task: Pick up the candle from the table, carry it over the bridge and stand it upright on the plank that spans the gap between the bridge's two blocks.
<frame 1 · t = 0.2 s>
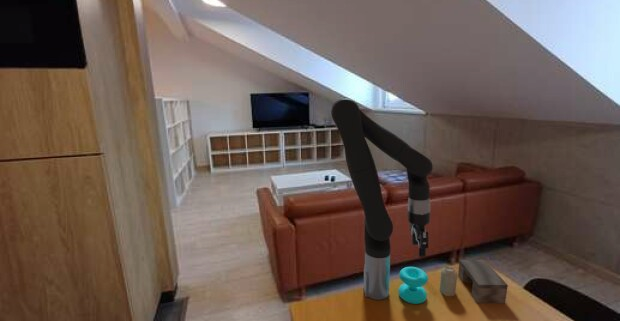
hand: (418, 250, 111), 18 cm above the table, tool pointing down, fingers open, 8 cm apart
candle: (447, 292, 116), on the table
turquoise spool: (412, 296, 114), on the table
bridge: (479, 288, 117), on the table
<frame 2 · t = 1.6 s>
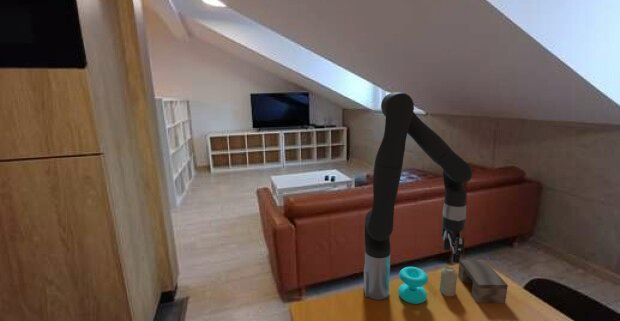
hand: (451, 255, 112), 15 cm above the table, tool pointing down, fingers open, 8 cm apart
nothing on the table moved.
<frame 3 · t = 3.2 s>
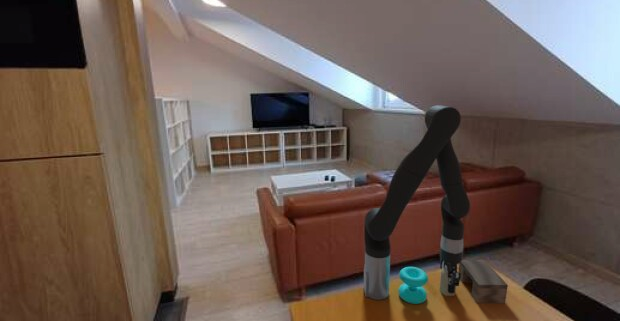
hand: (447, 287, 115), 2 cm above the table, tool pointing down, fingers closed on candle, 5 cm apart
candle: (447, 292, 116), on the table, touching gripper
everything else where it was.
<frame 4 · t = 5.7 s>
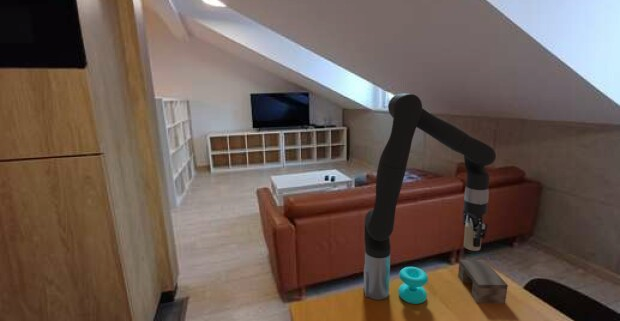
hand: (472, 242, 111), 20 cm above the table, tool pointing down, fingers closed on candle, 5 cm apart
candle: (472, 247, 112), point 18 cm above the table, touching gripper
everything else where it was.
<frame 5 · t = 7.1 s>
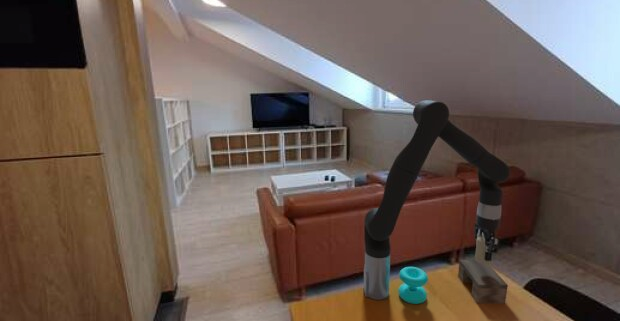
hand: (483, 255, 113), 14 cm above the table, tool pointing down, fingers closed on candle, 5 cm apart
candle: (483, 261, 114), point 12 cm above the table, touching gripper
everything else where it was.
when the fingers open (11 cm above the table, at t = 8.2 s): candle drops 1 cm, resting on bridge.
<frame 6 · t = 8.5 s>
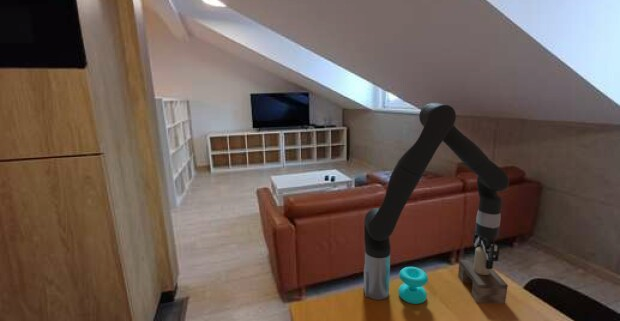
hand: (483, 262, 114), 12 cm above the table, tool pointing down, fingers open, 8 cm apart
candle: (481, 271, 115), point 7 cm above the table, touching bridge
everything else where it was.
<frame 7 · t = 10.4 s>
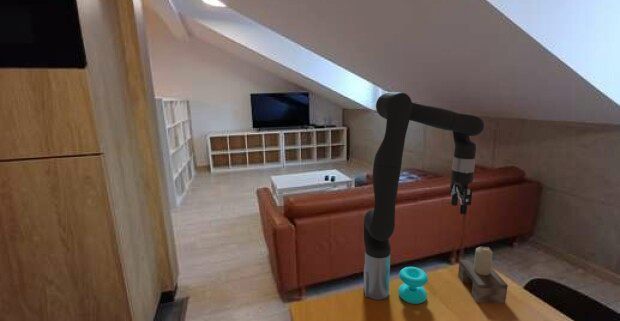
hand: (458, 209, 117), 30 cm above the table, tool pointing down, fingers open, 8 cm apart
nothing on the table moved.
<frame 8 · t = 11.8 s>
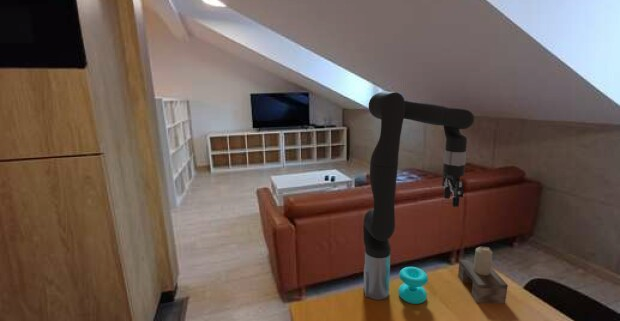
hand: (450, 202, 119), 32 cm above the table, tool pointing down, fingers open, 8 cm apart
nothing on the table moved.
at the end: candle inside the target area on the bridge (0.1 cm from its centre), point 7.3 cm above the bridge's base; candle tilted 0°; the gripper is holding nothing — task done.
